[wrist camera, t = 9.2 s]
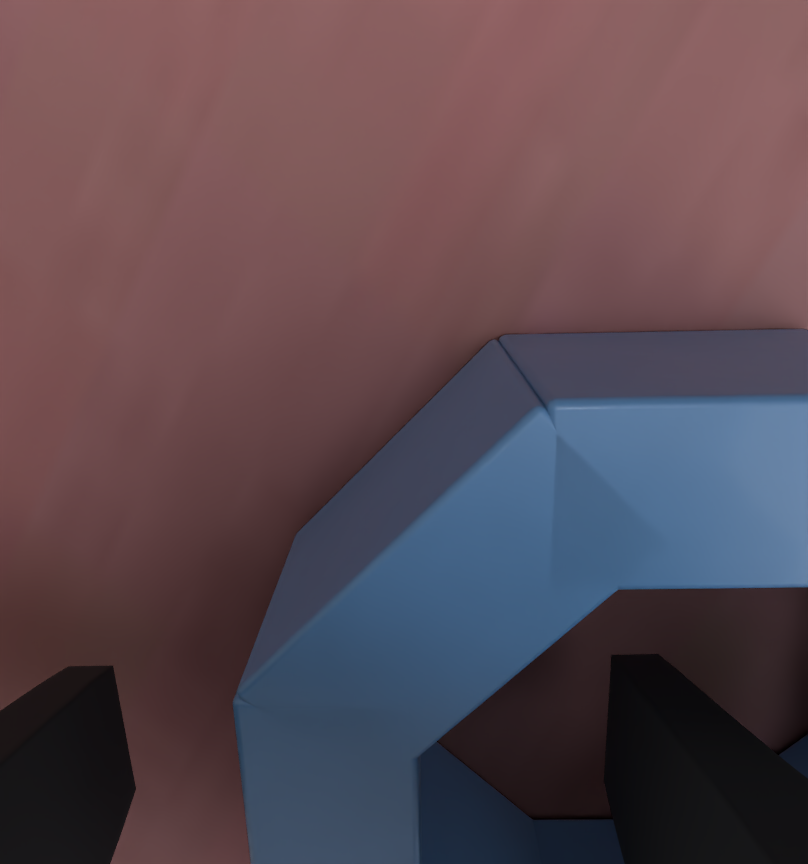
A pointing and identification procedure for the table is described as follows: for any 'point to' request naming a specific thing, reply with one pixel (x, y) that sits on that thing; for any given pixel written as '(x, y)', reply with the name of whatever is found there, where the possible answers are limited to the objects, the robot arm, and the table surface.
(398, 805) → the ring
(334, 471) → the table surface
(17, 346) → the table surface
